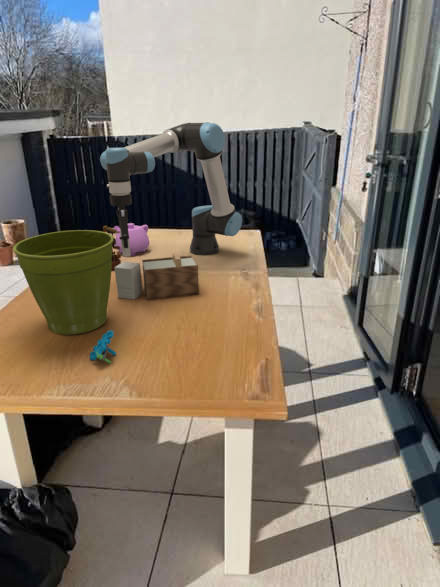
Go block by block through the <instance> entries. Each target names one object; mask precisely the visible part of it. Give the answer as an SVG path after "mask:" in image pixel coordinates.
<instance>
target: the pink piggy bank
mask: <svg viewBox="0 0 440 587" xmlns="http://www.w3.org/2000/svg"><path fill="white" fill-rule="evenodd" d="M127 224H128V233H129V243H130V254H131V256H130V257H135V256H137V253H139V252H140V253H142V254H143V253H147V251H146V250H147V249H148V248H149V246H150V238H149V236H148V231H149V226H148V225H147V224H143V225H135V223H132V222H129V223H127ZM119 227H120V226H118V225H115V226H113V229H115V230H117V231H120V230H121V229H120V228H119ZM116 235H117V236H116ZM119 237H120V233H115V240H116V238H117V241H116V244H115V246H120V249H118V250H117V251H118V252H119V254H120V255H123V251H122V247H121V239H120V238H119Z"/></svg>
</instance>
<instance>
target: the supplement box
mask: <svg viewBox="0 0 440 587" xmlns="http://www.w3.org/2000/svg"><path fill="white" fill-rule="evenodd" d="M114 268H115V270H114V272H115V274H114V275H115V283H116V290H117V297H118V299H120V298H121V299H128V300H136V299H137V298H138V297H140V296H142V294H143V293H144V290H143V280H142V270H141V269H142V268H141V263H140V262H130V261H122V262H121V264H119V265H118V266H116V267H114Z"/></svg>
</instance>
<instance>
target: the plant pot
mask: <svg viewBox="0 0 440 587" xmlns="http://www.w3.org/2000/svg"><path fill="white" fill-rule="evenodd" d="M113 237H114V235H113V236H112V234H109V233H107V232H106V231H105V232H104V231H102V230H101V231H100V230H92V229H91V230H90V229H89V230H88V229H83V230H81V229H77V230H76V229H75V230H74V229H73V230H61V231H60V230H59V231H54V232H48V233H42V234H39V235H38V234H37V235H35V236H31V237H27V238H25V239H23V240H21V241H18V242H17V243H15V244H14V246H13V247H12V249H13V250H12V251H13V252H14V254H15V255H16V257H17V260H18V264H19V267H20V269H21V270H22V272H23V275H24V277H25V280H26V282H27V285H28V287H29V289H30V291H31V293H32V294H31V295H32V296H33V298H34V300H35V302H36V303H37V306H38V308H39V310H40V311H41V314H42V315H43V316H44V318H45V320H46V323H47V326H48V327H47V328H48V329H49V330H50V331H51V332H52V333H54V334H58V335H65V336H67V335H69V336H70V335H71V336H73V335H81V334H84V333H89V332H92V331H94V330H96V329H98V328H100V327H101V326H103V325H104V324H105V322H106V321H107V319H108V312H107V311H108V310H107V309H108V305H109V297H110V291H111V283H112V282H111V279H112V271H111V267H112V248H113V247H112V242H113Z"/></svg>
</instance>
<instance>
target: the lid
mask: <svg viewBox="0 0 440 587" xmlns="http://www.w3.org/2000/svg"><path fill="white" fill-rule="evenodd" d="M172 257H173V259H172V260H161V261H150V262H142V263H143V265H142V268H143V267H144V271H145V270H147V269H158V268H169V267H180V266H191V265H197V263H196V262H195V260H194V258H193V257H192V258H184V259H181V258H180V257H181V256H180V254H179V253H178V252H173V253H172Z"/></svg>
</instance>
